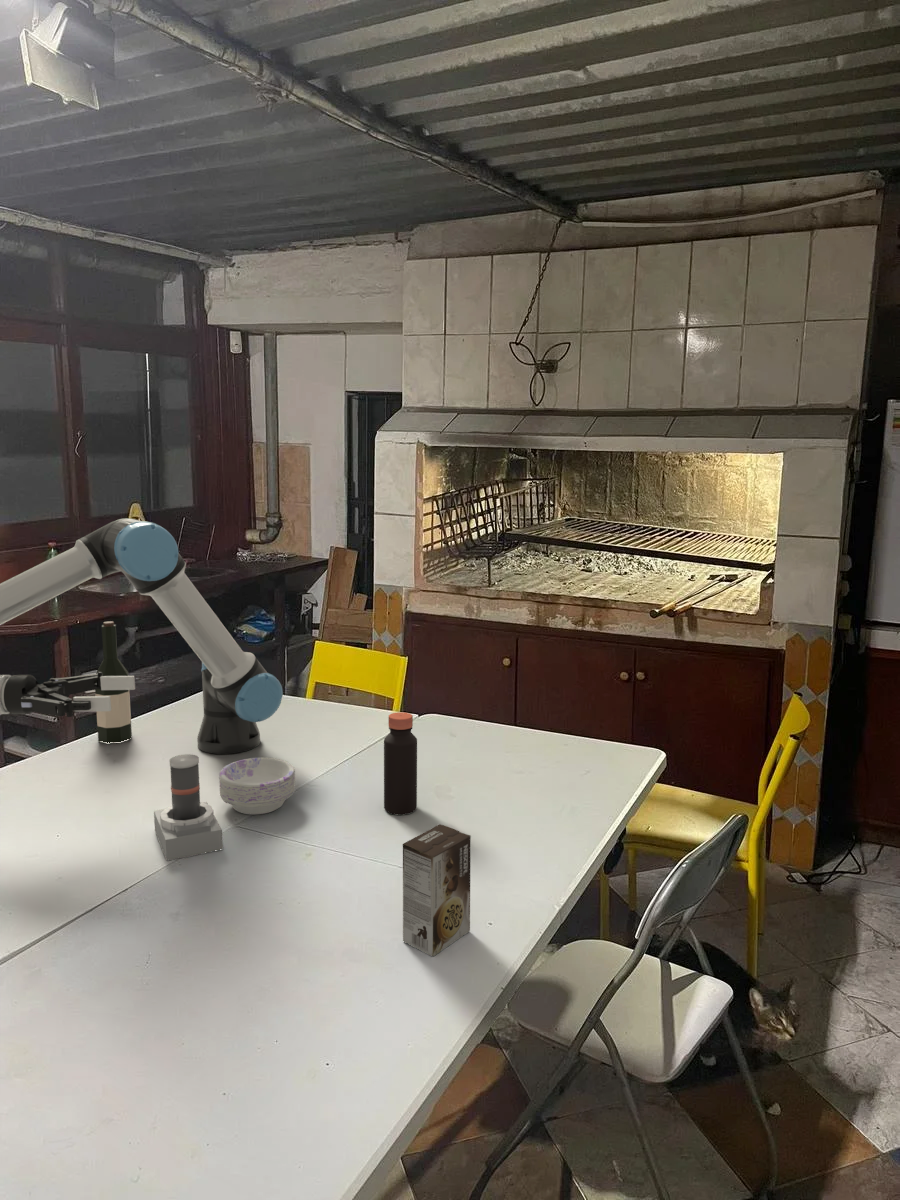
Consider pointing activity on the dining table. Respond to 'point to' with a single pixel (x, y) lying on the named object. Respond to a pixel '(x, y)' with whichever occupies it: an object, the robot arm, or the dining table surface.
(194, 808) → the grey capped canister
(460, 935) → the coffee box
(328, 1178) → the dining table surface
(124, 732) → the wine bottle
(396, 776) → the vinegar
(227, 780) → the paper bowls
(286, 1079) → the dining table surface
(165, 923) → the dining table surface
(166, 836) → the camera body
